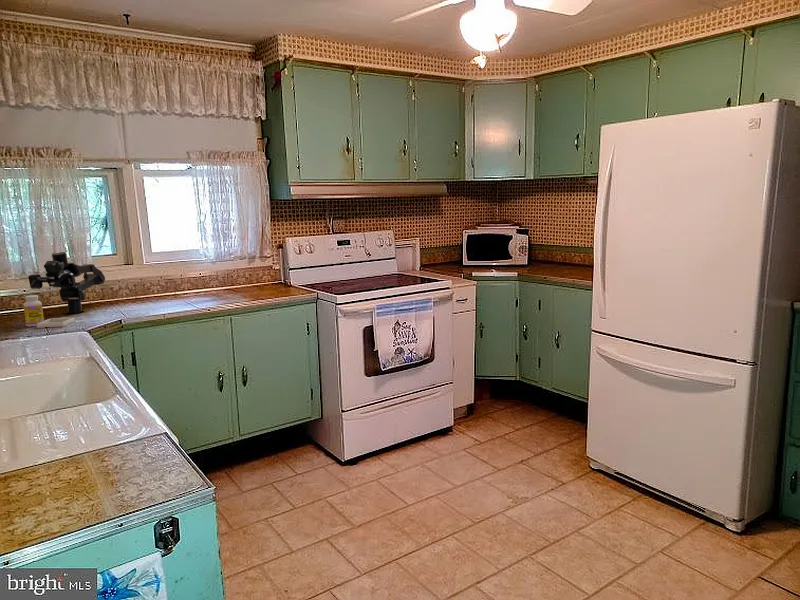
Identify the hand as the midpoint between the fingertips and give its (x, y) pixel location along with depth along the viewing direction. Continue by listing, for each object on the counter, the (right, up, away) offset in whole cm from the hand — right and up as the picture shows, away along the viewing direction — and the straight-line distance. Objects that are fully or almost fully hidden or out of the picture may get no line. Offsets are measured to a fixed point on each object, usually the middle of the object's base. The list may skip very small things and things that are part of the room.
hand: (42, 286), depth 247 cm
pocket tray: (+8, -17, -2) cm, 18 cm away
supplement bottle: (-2, -17, -2) cm, 17 cm away
